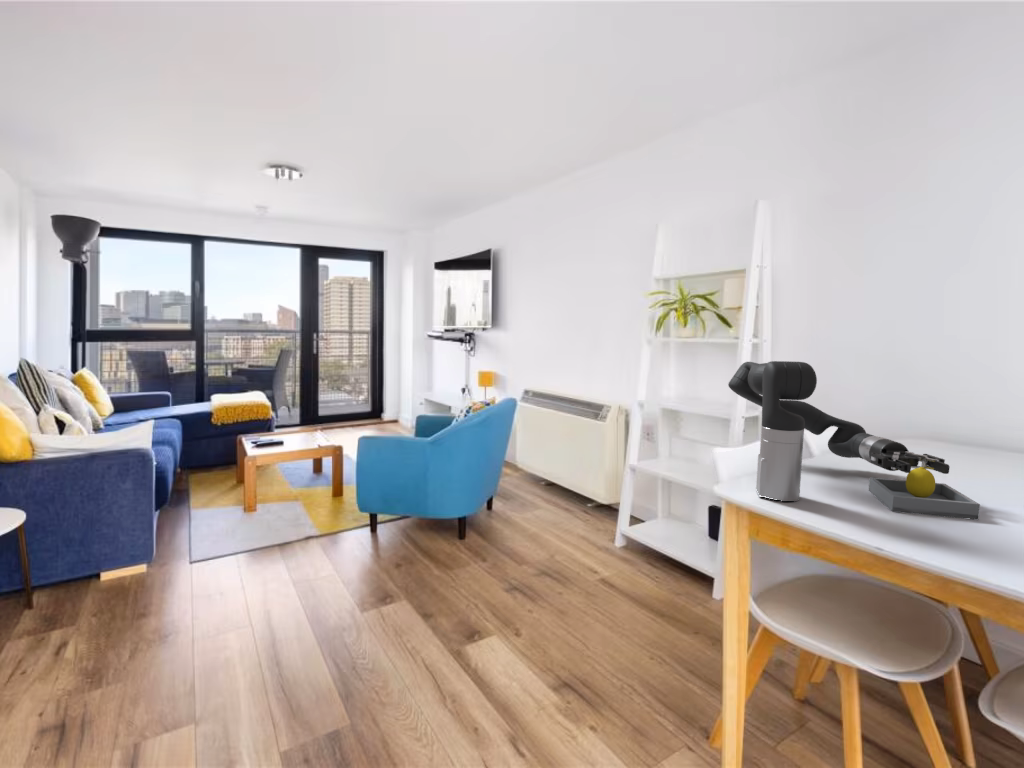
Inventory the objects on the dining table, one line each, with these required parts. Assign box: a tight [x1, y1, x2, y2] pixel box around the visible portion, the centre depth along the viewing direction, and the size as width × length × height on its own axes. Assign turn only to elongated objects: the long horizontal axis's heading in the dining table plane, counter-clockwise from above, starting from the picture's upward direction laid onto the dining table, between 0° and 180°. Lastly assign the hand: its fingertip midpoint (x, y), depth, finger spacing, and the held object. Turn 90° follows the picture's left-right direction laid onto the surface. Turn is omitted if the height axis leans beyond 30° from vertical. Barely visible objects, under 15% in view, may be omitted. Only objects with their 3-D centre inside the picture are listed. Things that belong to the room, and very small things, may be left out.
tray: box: [868, 477, 981, 520], centre depth 124 cm, size 16×16×4 cm
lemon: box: [905, 467, 936, 498], centre depth 124 cm, size 6×6×8 cm
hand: (928, 469), depth 121 cm, fingers open, 8 cm apart
